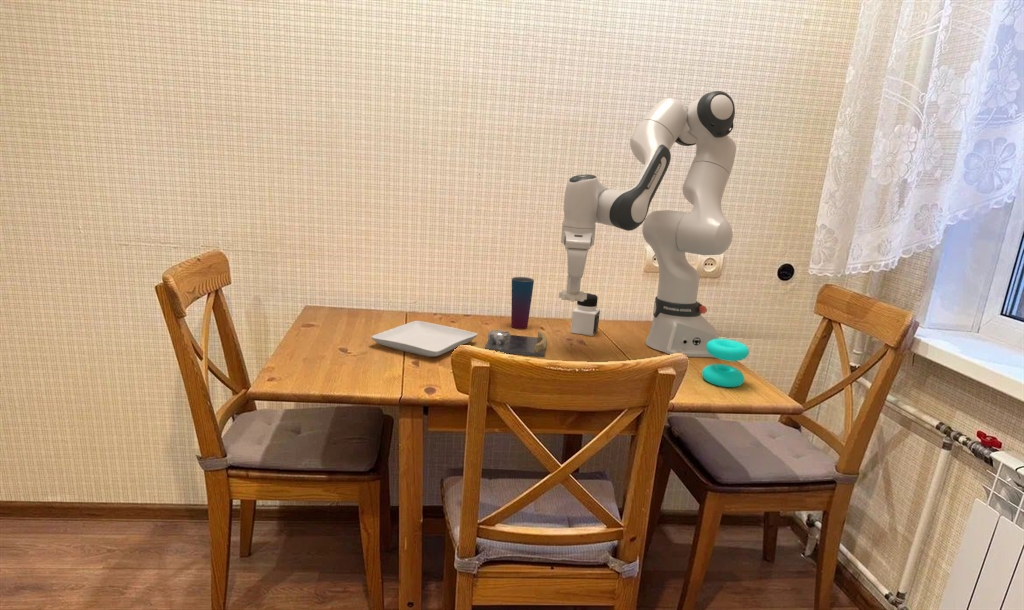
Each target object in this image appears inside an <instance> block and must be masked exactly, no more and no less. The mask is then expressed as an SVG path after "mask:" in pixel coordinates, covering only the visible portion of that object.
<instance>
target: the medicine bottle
mask: <svg viewBox="0 0 1024 610" xmlns="http://www.w3.org/2000/svg"><path fill="white" fill-rule="evenodd" d="M585 293H586V294H587V300H584V301H582V302H581V301H576V307H575V308H574V309H572V314H571V315H572V316H571V324H570V333H572V334H577V335H584V336H587V337H588V336H590V337H594V336H595V334H596V333H597V332H598V330H599V322H600V321H599V320H600V315H601V314H600V313H601V309H600V308H598V299H599V297H598V295H597V294H595V293H591V292H585Z"/></svg>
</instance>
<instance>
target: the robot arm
mask: <svg viewBox="0 0 1024 610" xmlns="http://www.w3.org/2000/svg"><path fill="white" fill-rule="evenodd" d="M735 106H736V105H735V102H734V100H733V99H732V97H731V95H729V94H728V93H727V92H725V91H721V90H715V91H710V92H707V93H705V94H703V95H702V96H701V97H699V98H697V99H695V100H694V101H692V102H691V103H689V104H688V105H684V103H682V102H681V101H680V100H679V99H676V98H674V97H666V98H662V99H661V100H660V101H658V102H657V103H655V105H654V106H653V107H652V108H651V109H650V110H649V111H648V112H647V113H646V115H644V117H643V118H642V119H641V121H639V123H638V125H637V126H636V128H635V129H634V130H633V132H632V134H631V137H630V139H629V140H630V143H629V144H630V149H631V152H632V154H633V155H634V157H635V159H637V160H638V162H640V164H642V165H644V166H643V167H642V169H641V172H640V174H639V175H638V177H637V179H636V181H635V183H634V184H633V186H632V187H630V188H628V189H624V190H622V189H616V188H610V187H608V186H606V185H604V184H603V183H602V182H601V181H599V180H598V177H597V175H594V174H577V175H573V176H571V177H570V178H569V179H568V181H567V184H566V186H565V191H564V197H563V212H564V216H563V221H562V225H561V235H560V237H561V238H560V243H561V244H563V245H564V246H565V248H564V249H565V250H566V254H567V277H568V276H569V278H571V290H574V291H576V290H577V287H578V280H579V278H581V279H582V278H583V277H584V272H585V269H586V268H585V267H586V262H587V256H588V252H589V251H590V249H591V247H592V246H595V238H596V229H597V228H596V225H597V224H601V225H605V226H610V227H614V228H617V229H621V230H624V231H627V232H628V231H629V232H630V231H634V230H636V229H638V228H639V227H640V226H641V225H642V230H641V231H642V236H643V239H644V240H645V242H646V243H647V244H648V246H649V247H650V248H651V249H652V251H653V253H654V255H655V258H656V261H657V265H658V286H657V295H656V296H655V298H654V302H653V310H652V315H653V318H652V322H651V326H650V330H649V332H648V335H647V338H646V340H645V345H646V346H648V347H649V348H651V349H654V350H656V351H660V352H663V353H666V354H668V355H670V354H673V353H683V354H685V355H687V356H686V357H690V358H694V357H695V358H715V357H714V356H712V355H711V354H710V353H709V352H708V351H707V348H706V345H707V343H708V342H709V341H710V340H713V339H720V338H719V333H718V330H717V329H716V328H715V327H714V325H713V324H712V323H710V322H709V321H708V319H706V318H705V317H704V316H703V315H702V314H704V315H705V314H706V313H708V312H707V311H708V308H707V306H705V305H703V304H701V302H699V301H698V293H699V287H700V281H701V280H700V275H699V272H698V270H697V269H696V268H695V267H693V266H692V264H690V262H688V259H687V256H686V253H688V254H694V255H700V256H720V255H722V254H724V253H725V252H726V251H727V250H728V249H729V248H730V246H731V244H732V242H733V235H734V232H733V228H732V226H731V224H730V222H729V220H727V218H726V217H725V215H724V213H723V210H722V200H723V196H724V192H725V189H726V186H727V183H728V180H729V178H730V177H731V176H730V175H731V173H732V170H733V167H734V163H735V160H736V159H735V158H736V153H737V152H736V151H737V144H736V143H735V141H734V139H733V138H732V137H730V136H729V134H731V132H732V131H733V129H734V126H735V125H734V120H735V115H736V107H735ZM675 143H676V144H677V145H680V146H682V147H692V146H695V147H696V148H695V155H694V158H693V160H692V162H691V165H690V166H689V168H688V172H687V174H686V177H685V180H684V182H683V185H682V194H683V196H684V198H685V199H686V201H687V202H689V203H690V204H691V205H692V210H691V211H689V212H688V211H687V212H685V211H678V210H669V209H664V210H663V209H661V210H656V211H655V210H654V211H651V212H650V213H649V214H648V212H649V208H650V206H651V203H652V201H653V199H654V197H655V196H656V195H655V194H656V193H657V191H658V189H659V187H660V185H661V182H662V181H663V179H664V177H665V175H666V173H667V171H668V168H669V166H670V163H671V159H672V157H671V155H672V153H671V148H672V147H673V145H674V144H675ZM596 223H597V224H596Z"/></svg>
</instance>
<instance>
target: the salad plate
mask: <svg viewBox="0 0 1024 610" xmlns="http://www.w3.org/2000/svg"><path fill="white" fill-rule="evenodd" d="M478 335H479V334H478V333H477V332H473V331H469V330H465V329H461V328H457V327H451V326H448V325H443V324H438V323H432V322H429V321H427V322H426V321H422V320H414V321H410V322H408V323H405V324H401V325H399V326H395V327H393V328H391V329H388V330H385V331H382V332H379V333H376V334H373V335H372V336H371V339H372V341H374V342H376V343H377V344H379V345H382V346H385V347H389V348H391V349H393V350H394V349H395V350H398V351H402V352H405V353H409V354H414V355H419V356H423V357H427V358H429V357H430V358H434V357H439V356H441V355H444V354H446V353H448V352H450V351H452V350H453V351H454V349H456V347H457V346H459V345H461V346H463V345H465V344H468V343H470V342H472V341H473V340H474V339H476V337H477V336H478ZM459 347H460V346H459ZM457 348H458V347H457Z"/></svg>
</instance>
